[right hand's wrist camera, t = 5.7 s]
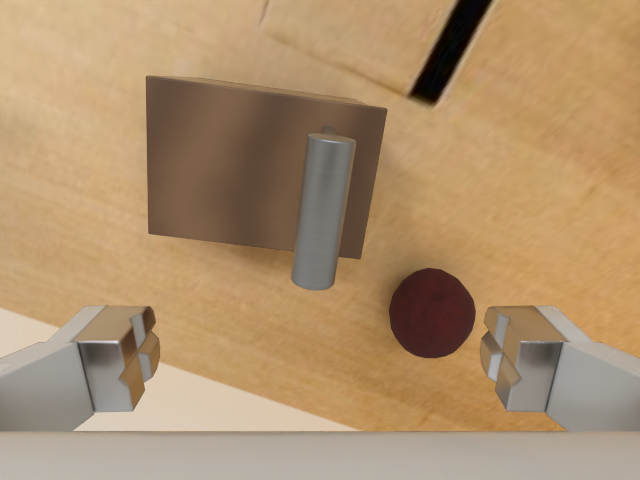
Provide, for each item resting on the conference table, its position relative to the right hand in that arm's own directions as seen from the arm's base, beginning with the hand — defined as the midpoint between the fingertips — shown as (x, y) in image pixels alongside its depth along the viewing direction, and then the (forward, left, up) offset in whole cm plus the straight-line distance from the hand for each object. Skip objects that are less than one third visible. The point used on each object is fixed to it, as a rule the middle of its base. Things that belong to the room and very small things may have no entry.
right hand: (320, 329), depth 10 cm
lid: (+4, -1, -17) cm, 17 cm away
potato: (-9, +14, -27) cm, 31 cm away
